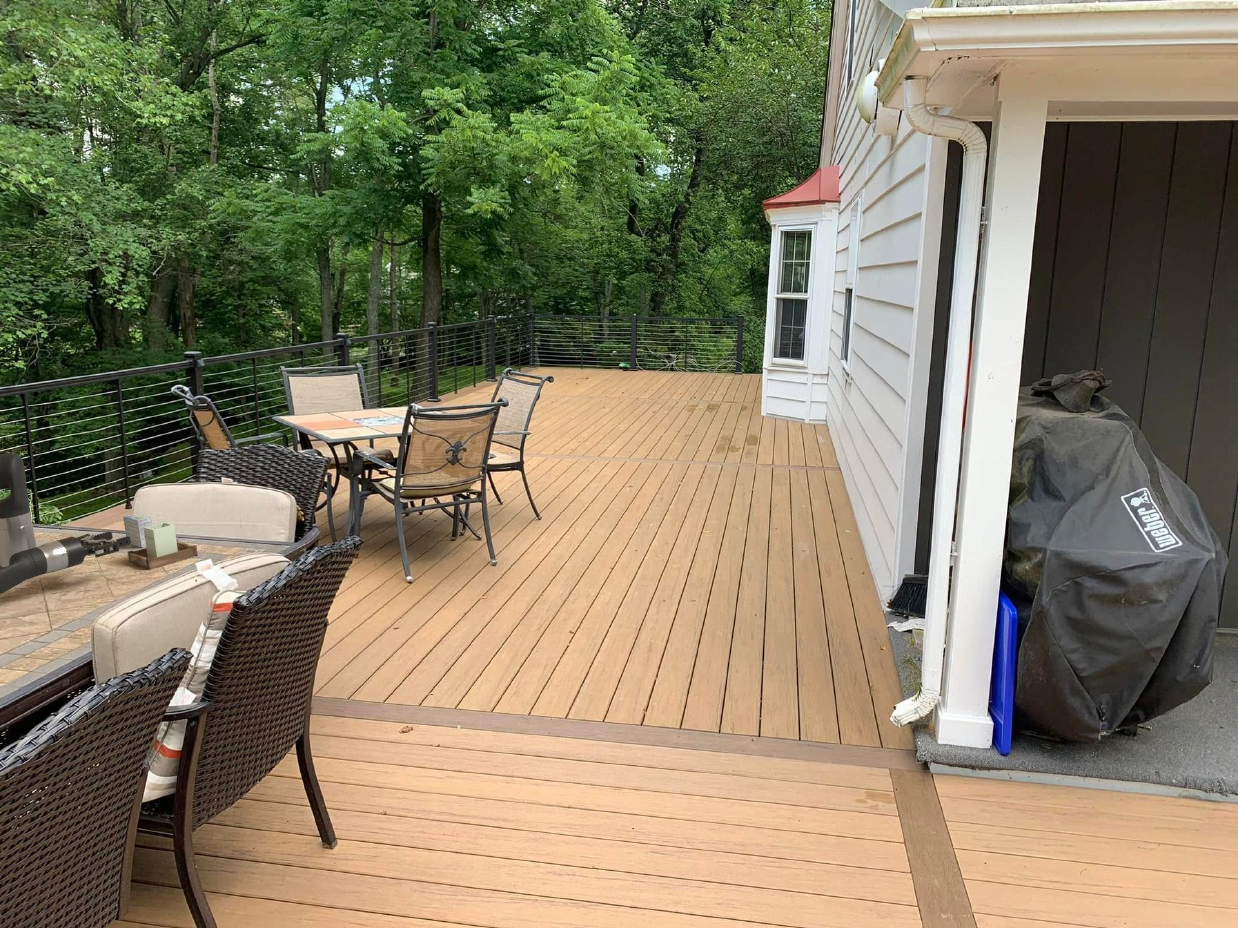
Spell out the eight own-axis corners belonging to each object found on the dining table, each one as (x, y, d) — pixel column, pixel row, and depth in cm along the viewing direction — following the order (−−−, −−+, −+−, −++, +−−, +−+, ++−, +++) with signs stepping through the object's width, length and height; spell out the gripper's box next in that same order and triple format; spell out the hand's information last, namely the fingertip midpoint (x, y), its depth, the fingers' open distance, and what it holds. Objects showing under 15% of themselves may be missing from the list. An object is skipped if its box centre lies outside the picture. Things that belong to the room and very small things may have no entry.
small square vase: (147, 558, 251) (142, 527, 249) (169, 552, 256) (164, 521, 254) (157, 561, 248) (152, 530, 246) (178, 554, 253) (174, 524, 251)
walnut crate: (129, 561, 250) (127, 551, 249) (176, 548, 260) (175, 538, 260) (149, 569, 243) (147, 559, 242) (197, 555, 254) (196, 545, 253)
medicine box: (156, 544, 265) (152, 516, 263) (141, 548, 261) (137, 520, 259) (141, 540, 269) (137, 512, 267) (126, 544, 266) (122, 516, 264)
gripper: (71, 545, 223) (134, 527, 236) (40, 537, 230) (103, 520, 243) (76, 574, 225) (138, 554, 238) (45, 564, 232) (107, 546, 245)
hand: (120, 537), depth 241 cm, fingers open, 8 cm apart
